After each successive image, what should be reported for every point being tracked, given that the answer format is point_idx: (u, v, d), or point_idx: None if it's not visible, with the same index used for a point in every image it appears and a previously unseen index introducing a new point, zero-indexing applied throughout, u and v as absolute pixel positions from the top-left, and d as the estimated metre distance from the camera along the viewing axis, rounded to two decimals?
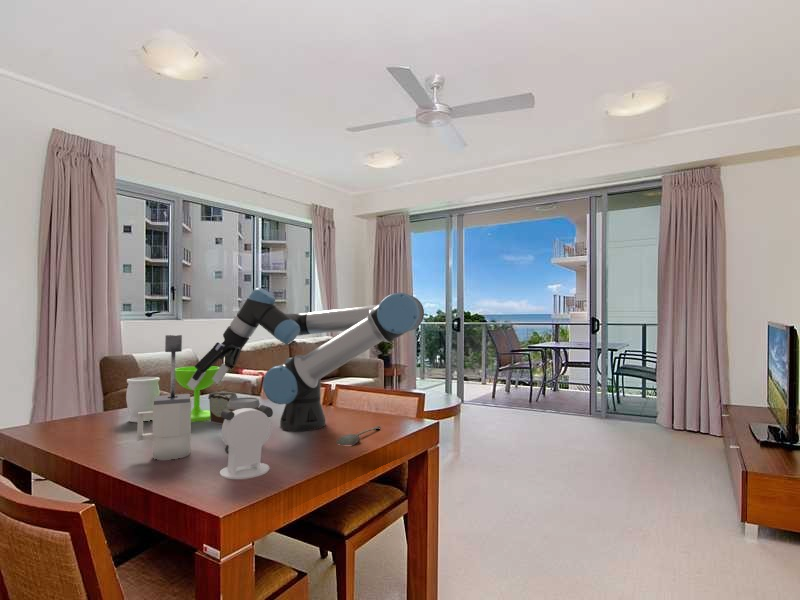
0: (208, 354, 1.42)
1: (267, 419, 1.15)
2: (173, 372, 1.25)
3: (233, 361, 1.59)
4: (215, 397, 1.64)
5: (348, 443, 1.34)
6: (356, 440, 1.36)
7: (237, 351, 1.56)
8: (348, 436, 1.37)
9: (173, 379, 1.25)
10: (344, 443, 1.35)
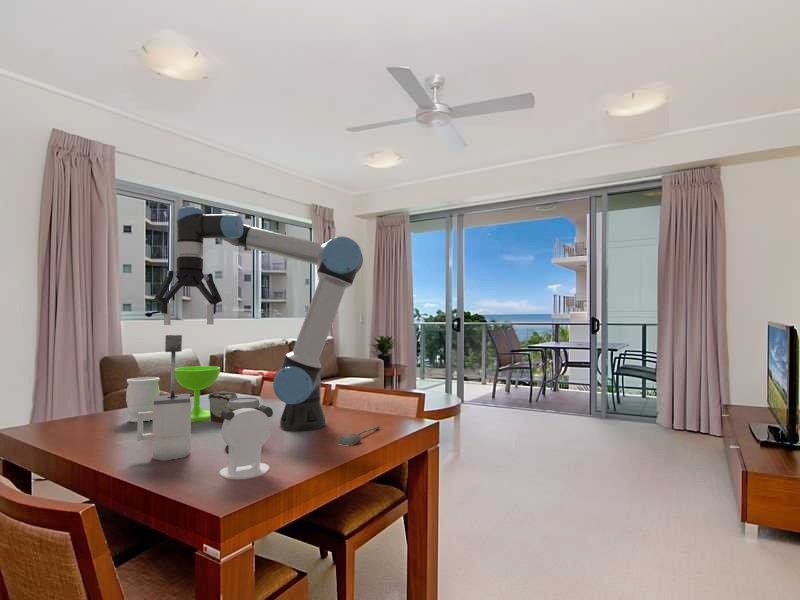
0: (162, 284, 1.40)
1: (267, 419, 1.15)
2: (173, 372, 1.25)
3: None
4: (215, 397, 1.64)
5: (349, 443, 1.35)
6: (357, 440, 1.36)
7: (209, 283, 1.50)
8: (349, 436, 1.37)
9: (173, 379, 1.25)
10: (345, 443, 1.35)
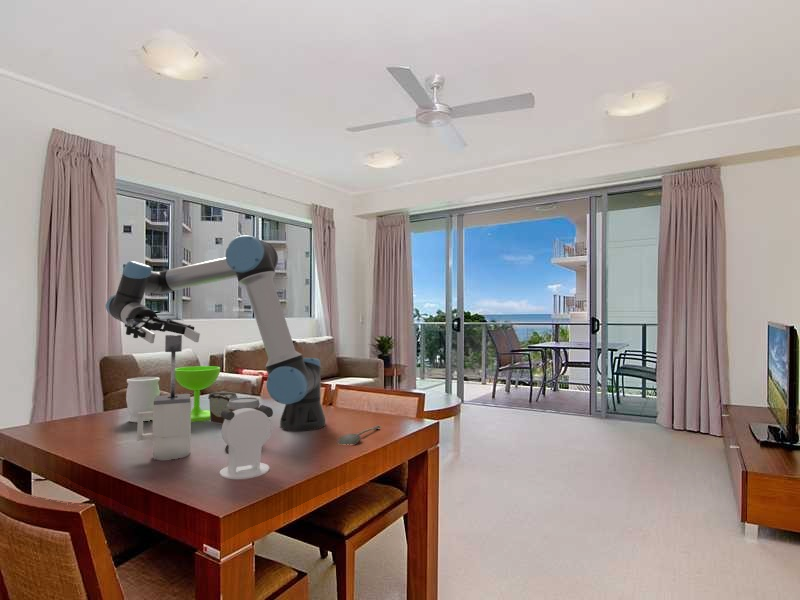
0: None
1: (267, 419, 1.15)
2: (173, 372, 1.25)
3: (190, 328, 1.46)
4: (215, 397, 1.64)
5: (349, 443, 1.35)
6: (357, 440, 1.36)
7: (173, 323, 1.46)
8: (349, 436, 1.37)
9: (173, 379, 1.25)
10: (345, 443, 1.35)
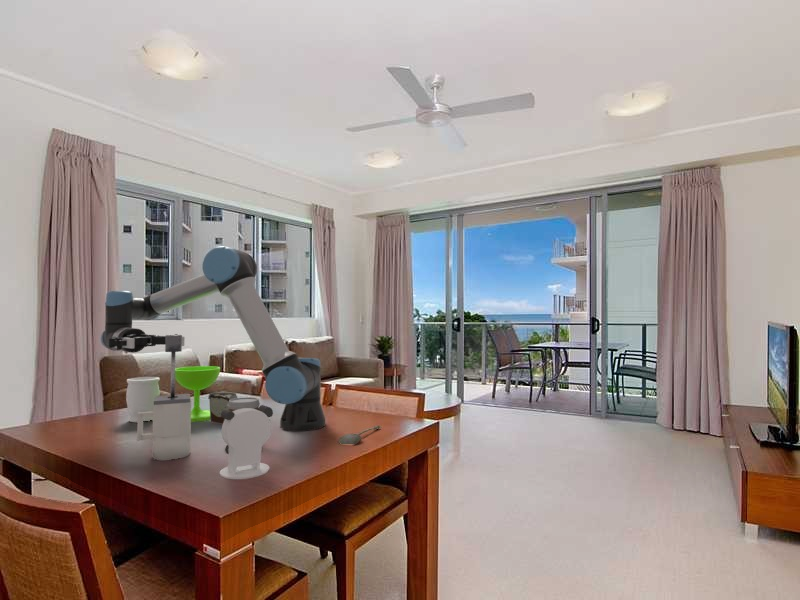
0: None
1: (267, 419, 1.15)
2: (173, 372, 1.25)
3: None
4: (215, 397, 1.64)
5: (350, 442, 1.35)
6: (358, 439, 1.37)
7: None
8: (350, 435, 1.38)
9: (173, 379, 1.25)
10: (346, 442, 1.35)
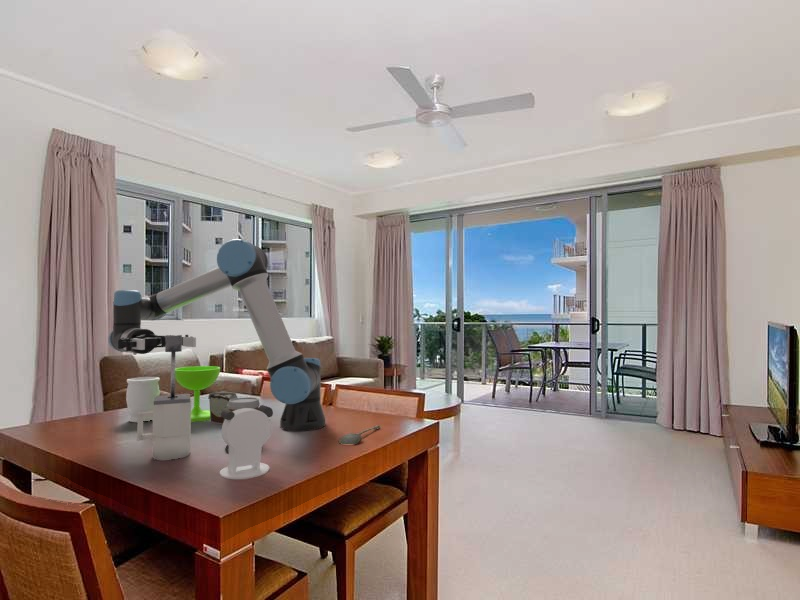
0: None
1: (267, 419, 1.15)
2: (173, 372, 1.25)
3: None
4: (215, 397, 1.64)
5: (351, 442, 1.35)
6: (358, 439, 1.37)
7: None
8: (350, 435, 1.38)
9: (173, 379, 1.25)
10: (347, 442, 1.35)
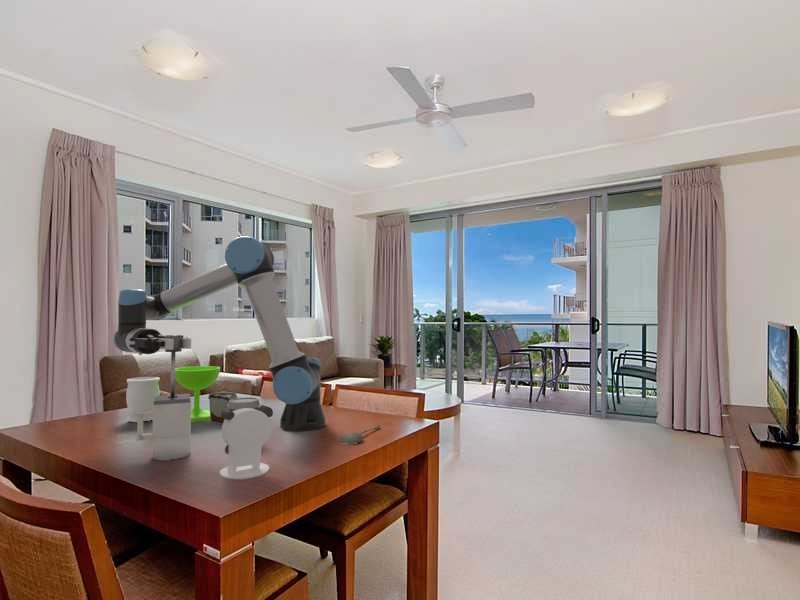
0: (138, 345, 1.27)
1: (267, 419, 1.15)
2: (173, 373, 1.25)
3: None
4: (215, 397, 1.64)
5: (352, 442, 1.36)
6: (359, 439, 1.37)
7: None
8: (351, 435, 1.38)
9: (173, 379, 1.25)
10: (348, 442, 1.36)
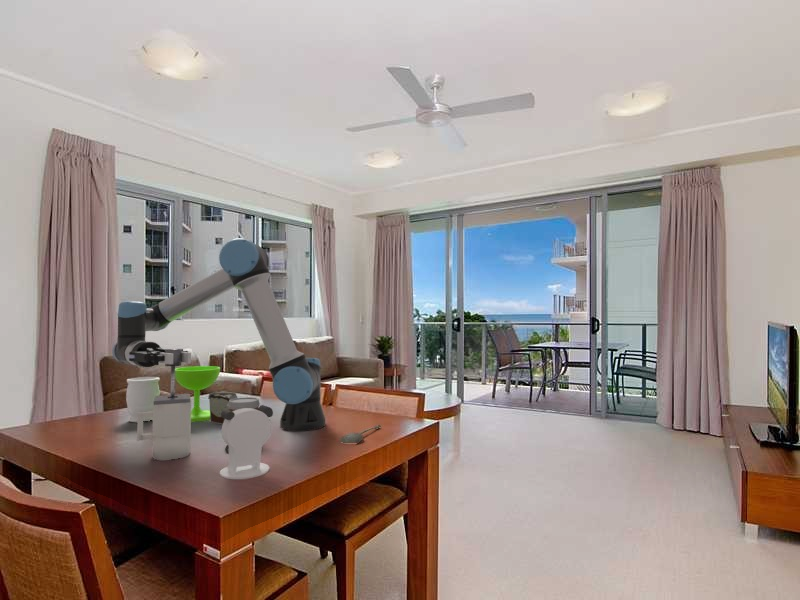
0: (138, 359, 1.27)
1: (267, 419, 1.15)
2: (173, 387, 1.25)
3: None
4: (215, 397, 1.64)
5: (352, 442, 1.36)
6: (360, 439, 1.38)
7: None
8: (352, 435, 1.38)
9: (173, 393, 1.25)
10: (348, 442, 1.36)
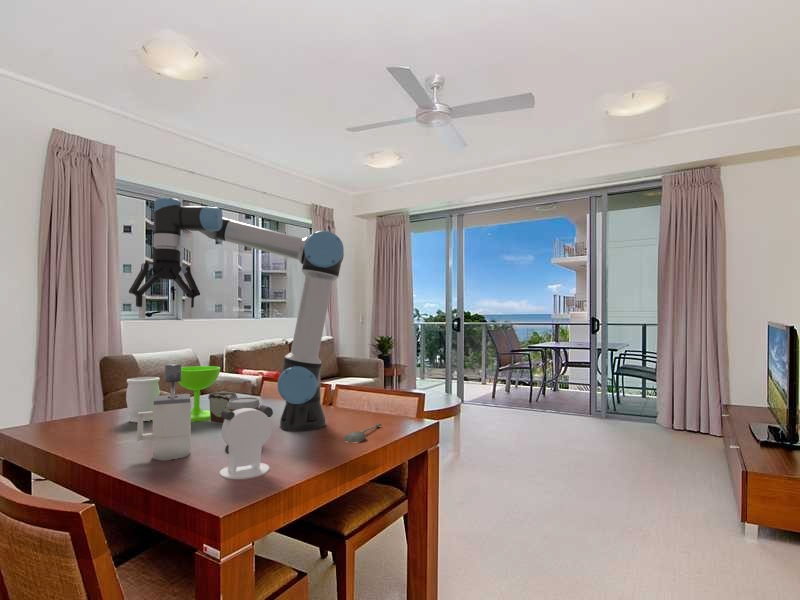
0: (137, 276, 1.37)
1: (267, 419, 1.15)
2: None
3: None
4: (215, 397, 1.64)
5: (356, 440, 1.38)
6: (363, 437, 1.39)
7: (187, 276, 1.47)
8: (355, 433, 1.40)
9: None
10: (352, 440, 1.38)
